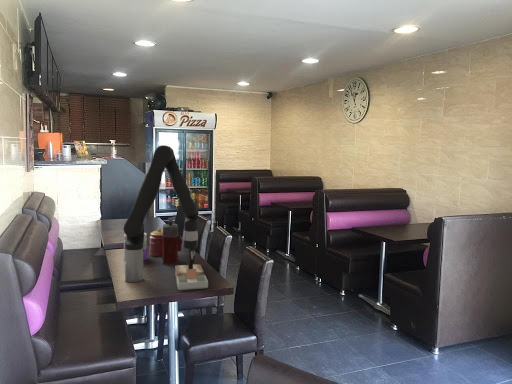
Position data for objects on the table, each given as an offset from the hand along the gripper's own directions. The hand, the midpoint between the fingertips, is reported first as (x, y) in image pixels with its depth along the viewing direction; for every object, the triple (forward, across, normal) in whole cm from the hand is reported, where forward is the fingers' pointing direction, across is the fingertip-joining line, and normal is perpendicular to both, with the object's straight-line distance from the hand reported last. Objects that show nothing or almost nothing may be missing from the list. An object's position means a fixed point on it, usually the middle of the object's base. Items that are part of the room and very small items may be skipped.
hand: (190, 270), depth 217 cm
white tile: (+3, +8, 0) cm, 9 cm away
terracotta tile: (+2, +3, 0) cm, 3 cm away
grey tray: (+6, +8, 0) cm, 10 cm away
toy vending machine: (+6, -37, -7) cm, 38 cm away
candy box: (+6, -48, -29) cm, 56 cm away
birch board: (+6, -5, 0) cm, 8 cm away
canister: (+6, -58, -14) cm, 59 cm away
